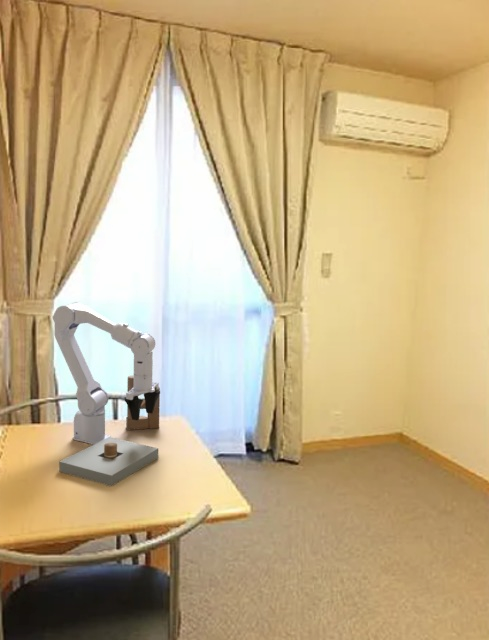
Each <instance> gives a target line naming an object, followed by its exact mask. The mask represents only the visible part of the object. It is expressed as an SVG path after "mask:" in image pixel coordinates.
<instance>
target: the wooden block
mask: <svg viewBox="0 0 489 640" xmlns="http://www.w3.org/2000/svg"><path fill="white" fill-rule="evenodd" d="M133 387H134V375H128V376H127V390H126V391H127V392H129V391H130V390H131V389H132V388H133ZM156 390H159V391H160V392H161V389H160V387H159V389H156ZM127 392H126V393H127ZM160 397H161V395H159V396H158V398H157V400H156V403H155V407H154V411H153V413H152V414H151V413H147V416H145V415H140V416H139V420H132V417H131V413H130V410H129V407H128V405H127V404H126V405H127V409H126V410H127V415H126V421H125V422H126V423H125V424H126V425H125V426H126V429H127V431H130V430H133V431H134V430H144V429H150V430H151V429H159V428H160V406H161V405H160V401H161V400H160V399H161V398H160ZM142 400H143V402H142V404H141V407H140V410H144V409H145V410H146V406H145V398H143V399H142Z"/></svg>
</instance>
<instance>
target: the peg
mask: <svg viewBox="0 0 489 640" xmlns="http://www.w3.org/2000/svg"><path fill="white" fill-rule="evenodd" d="M116 457H117V444H116V443H106V444H105V445H104V458H108V459H114V458H116Z"/></svg>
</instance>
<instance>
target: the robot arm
mask: <svg viewBox="0 0 489 640" xmlns="http://www.w3.org/2000/svg"><path fill="white" fill-rule="evenodd" d="M51 319H52V321H53V322H54V338H55V340H56V343H57V345H58V347H59V350H60V351H61V353H62V356H63V358H64V360H65V363H66V364H67V367H68V369H69V371H70V374H71V375H72V378H73V380H74V382H75V384H76V387H77V389H76V393H75V397H76V399H77V408H78V411H77V412H76V413H75V415H74V417H73V437H71V439H72V440H74V441H78V442H82V443H86V444H91V445H94V444H96V443H98V442H100V441H102V440H104V439H106V438H108V437H112V436H111V435H110V434H106V407H105V406H106V405H107V404H108V402H109V395H108V393H107V391H106V390H105V389H103V388H102V385H101V383H99V382H97V381H96V380H95V379H94V377H93V375H92V373H91V371H90V368H89V366H88V363H87V362H86V359H85V357H84V355H83V353H82V350H81V348H80V346H79V343H78V341H77V339H76V337H75V333H76V330H77V329H78V327H79V325H81V324H89V325H91V326H93V327H95V328H98V329H100V330H102V331H104V332H106V333H108V334H110V336H111V339H112V340H113V341H115V342H117V343H119V344H121V345H123V346H125V347H126V348H129V349H130V350H131V353H132V354H133V376H134V387H133V388H132V389H131V390H130V391H129V392H126V393H125V396H124V402H125V403H126V405H128V407H129V410H130V413H131V417H132V420H139V416H141V415H140V413H141V409H140V407H141V404H142V402H143V400H144V399H145V406H146V409H145V412H146V414H148V413H151V414H152V413H153V411H154V407H155V403H156V400H157V398H158V396H159V395H160V394H161V390H160V391H159V390H156V389H159V388H160V386H159V383H160V382H156V381H153V368H154V367H153V366H154V365H153V351H154V349H155V348H156V340H155V338H154V337H153V336H152V335H151V334H150V333H143V331H140V330H136V329H134V328H132V327H130V326H129V323H127V322H124V323H122V322H119V323H115V322H113V321H111V320H110V319H108V318H107V317H105V316H104V315H102V314H100V313H98V312H96V311H95V310H93V309H92V308H90V306H88V305H84V304H83V303H82V302H80V301H79V302H78V301H75V302H72V303H70V304H67V305H60V306H59V307H57V308H56V310H55V311H54V314H53V315H52V318H51ZM141 395H143V397H144V398H143V399H141V398H139V396H141ZM160 396H161V395H160Z"/></svg>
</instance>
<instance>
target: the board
mask: <svg viewBox="0 0 489 640" xmlns="http://www.w3.org/2000/svg"><path fill="white" fill-rule="evenodd" d="M106 443H116V444H117V457H116V458H114V459H108V458H104V445H105V444H106ZM157 459H159V448H158V447H154V446H151V445H146V444H142V443H141V444H140V443H138V442H132V441H130V440H129V441H128V440H125V439H120V438H116V437H112V436H111V437H108V438H106V439H104V440H102V441H100V442H98V443H96V444H91V445H90V446H88V447H86V448H84V449H82V450H80V451H78V452H76V453H74V454H72V455H70V456H68V457H65V458H64V459H62V460H60V461H59V464H58V467H59V470H58V471H59V472H60V473H64V474H66V475H69V474H70V475H69V476H74V477H77V478H81V479H85V480H87V481H88V480H89V481H91V482H94V483H98V484H103V485H106V486H109V487H112V486H114V485H116V484H117V483H119V482H122V481H123V480H125V479H126V478H128V477H129V476H131V475H132V474H134V473H136V472H138V471H139V470H141V469H142V468H144V467H146V466H148V465H149V464H151V463H153V462H154V461H155V460H157Z"/></svg>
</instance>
